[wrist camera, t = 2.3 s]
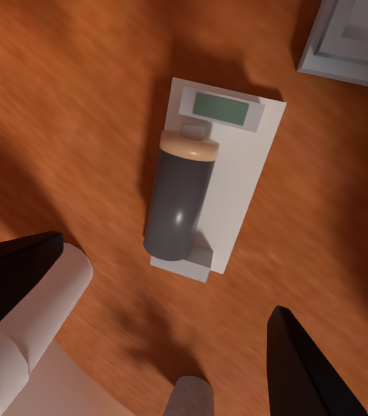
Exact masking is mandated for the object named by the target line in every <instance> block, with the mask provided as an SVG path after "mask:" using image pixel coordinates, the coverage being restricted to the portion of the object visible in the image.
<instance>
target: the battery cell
mask: <svg viewBox="0 0 368 416" xmlns="http://www.w3.org/2000/svg"><path fill="white" fill-rule="evenodd" d="M204 132H205V127H202V126H199V125H195V124H191V123H185V122H182V125H181V130H180V131H173V130H163V131H162V133H161V139H160V145H159V152H158V158H157V164H156V170H155V176H154V182H153V188H152V194H151V200H150V206H149V212H148V218H147V224H146V230H145V236H144V242H143V245H144V248H145V250H146V251H147V252H148V253H149V254H150V255H152V256H153V257H155V258H158V259H161V260H164V261H179V260H182V259H184V258H186V257H187V256H188V255H189V254H190V251H191V247H192V243H193V240H194V236H195V233H196V229H197V225H198V222H199V218H200V215H201V211H202V207H203V204H204V200H205V197H206V193H207V189H208V186H209V182H210V179H211V175H212V171H213V168H214V164H215V160H216V157H217V153H218V150H219V146H220V144H219V143H218V142H216V141H214V140H211V139H208V138H205V137H203V136H204Z"/></svg>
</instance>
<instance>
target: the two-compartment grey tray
mask: <svg viewBox="0 0 368 416" xmlns="http://www.w3.org/2000/svg"><path fill="white" fill-rule="evenodd" d="M296 71H297V72H302V73H306V74H311V75H316V76H321V77H325V78H330V79H335V80H339V81H344V82H349V83H354V84H358V85H363V86H368V0H322V2H321V5H320V8H319V10H318V13H317V16H316V19H315V21H314V24H313V27H312V29H311V32H310V35H309V38H308V40H307V43H306V46H305V48H304V51H303V54H302V57H301V59H300V62H299V65H298V67H297V70H296Z"/></svg>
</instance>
